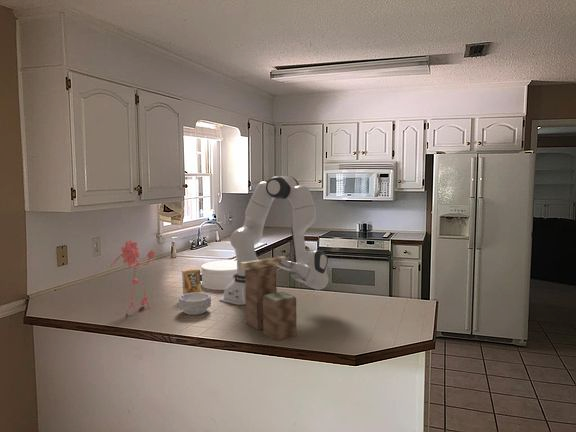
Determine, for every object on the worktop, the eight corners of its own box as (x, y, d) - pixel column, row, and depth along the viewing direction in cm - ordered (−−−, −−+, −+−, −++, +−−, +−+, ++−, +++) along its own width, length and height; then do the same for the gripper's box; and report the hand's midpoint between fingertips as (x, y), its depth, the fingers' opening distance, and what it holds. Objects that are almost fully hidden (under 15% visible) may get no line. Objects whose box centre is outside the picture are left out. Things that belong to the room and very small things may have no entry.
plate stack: (195, 289, 271) (194, 269, 269) (210, 277, 298) (209, 259, 297) (243, 290, 267) (242, 270, 266) (253, 278, 294) (253, 260, 293)
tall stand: (265, 319, 217) (264, 263, 214) (277, 325, 209) (276, 267, 206) (246, 323, 212) (244, 266, 209) (257, 329, 203) (256, 270, 200)
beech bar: (283, 262, 216) (283, 256, 215) (286, 263, 213) (286, 257, 213) (240, 269, 204) (240, 262, 203) (243, 270, 201) (243, 263, 201)
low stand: (283, 328, 205) (282, 291, 203) (296, 335, 197) (296, 296, 195) (263, 333, 199) (262, 294, 197) (276, 340, 191) (275, 300, 189)
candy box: (198, 295, 257) (197, 268, 255) (201, 297, 253) (200, 269, 252) (182, 298, 253) (181, 270, 251) (185, 300, 249) (184, 271, 247)
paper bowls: (215, 313, 226) (215, 297, 225) (184, 319, 219) (184, 302, 218) (205, 305, 239) (204, 290, 239) (175, 310, 232) (174, 294, 231)
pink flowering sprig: (162, 303, 243) (157, 236, 239) (126, 319, 219) (121, 245, 216) (138, 301, 249) (133, 235, 245) (101, 316, 226) (95, 244, 222)
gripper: (290, 261, 229) (268, 250, 221) (315, 268, 212) (293, 257, 204) (285, 273, 228) (263, 262, 220) (310, 281, 211) (287, 270, 203)
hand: (278, 259), depth 212 cm, fingers closed on beech bar, 3 cm apart
